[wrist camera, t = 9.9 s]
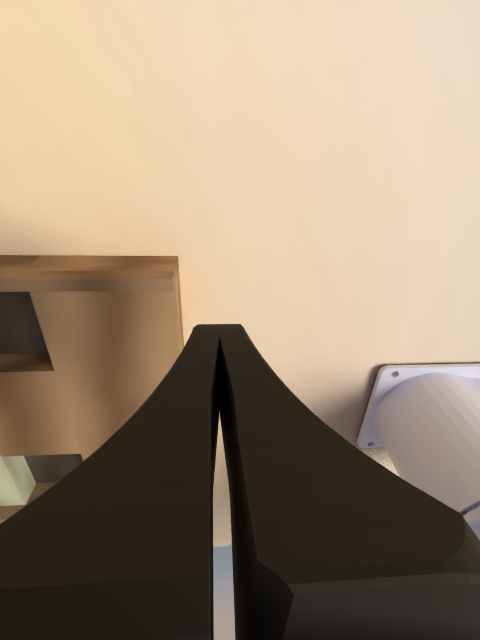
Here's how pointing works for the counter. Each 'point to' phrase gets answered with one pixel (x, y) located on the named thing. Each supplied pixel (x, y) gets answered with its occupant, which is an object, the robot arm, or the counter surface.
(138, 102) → the counter surface
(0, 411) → the box
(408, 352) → the counter surface
